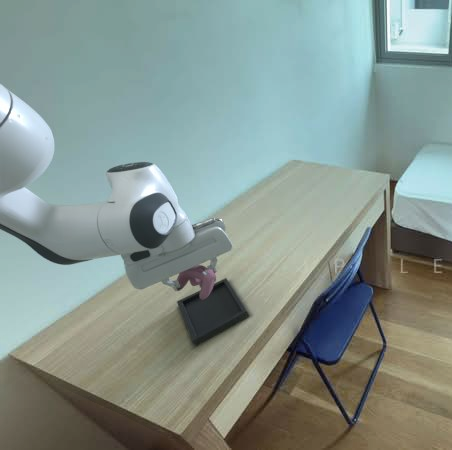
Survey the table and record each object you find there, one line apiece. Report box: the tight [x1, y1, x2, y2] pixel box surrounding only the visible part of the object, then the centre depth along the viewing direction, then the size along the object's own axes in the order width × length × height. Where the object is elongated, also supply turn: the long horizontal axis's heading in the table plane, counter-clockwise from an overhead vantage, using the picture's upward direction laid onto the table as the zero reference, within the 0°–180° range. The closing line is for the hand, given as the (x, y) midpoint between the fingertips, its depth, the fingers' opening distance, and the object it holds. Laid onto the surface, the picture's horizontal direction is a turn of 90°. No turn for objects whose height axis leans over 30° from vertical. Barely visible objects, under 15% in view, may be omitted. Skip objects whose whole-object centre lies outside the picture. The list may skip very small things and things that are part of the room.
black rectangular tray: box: [176, 277, 250, 347], centre depth 80 cm, size 12×16×2 cm
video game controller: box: [176, 264, 217, 300], centre depth 74 cm, size 10×5×7 cm, turn 69°
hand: (196, 279), depth 74 cm, fingers closed on video game controller, 6 cm apart
